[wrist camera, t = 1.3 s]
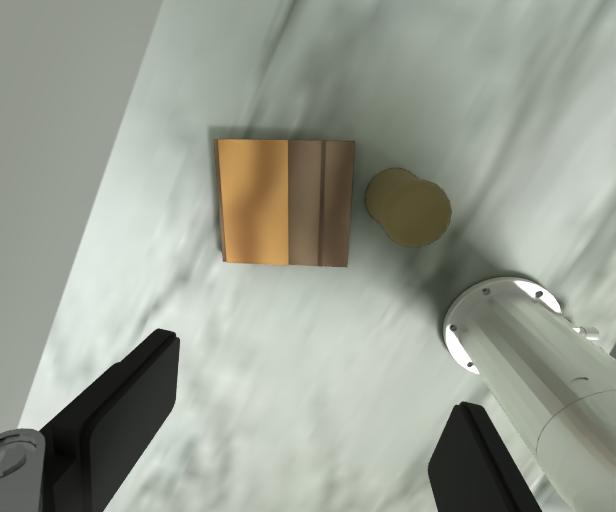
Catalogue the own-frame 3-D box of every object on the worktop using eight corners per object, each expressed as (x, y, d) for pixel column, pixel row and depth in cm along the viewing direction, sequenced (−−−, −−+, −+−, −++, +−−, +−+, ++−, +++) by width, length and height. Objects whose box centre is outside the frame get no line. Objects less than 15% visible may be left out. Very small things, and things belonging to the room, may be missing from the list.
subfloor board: (353, 141, 31) (354, 140, 30) (346, 262, 35) (347, 267, 34) (218, 139, 32) (212, 139, 31) (227, 257, 36) (222, 262, 35)
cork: (422, 163, 31) (464, 169, 21) (423, 221, 33) (464, 253, 23) (362, 172, 32) (374, 181, 22) (367, 228, 34) (380, 262, 24)
